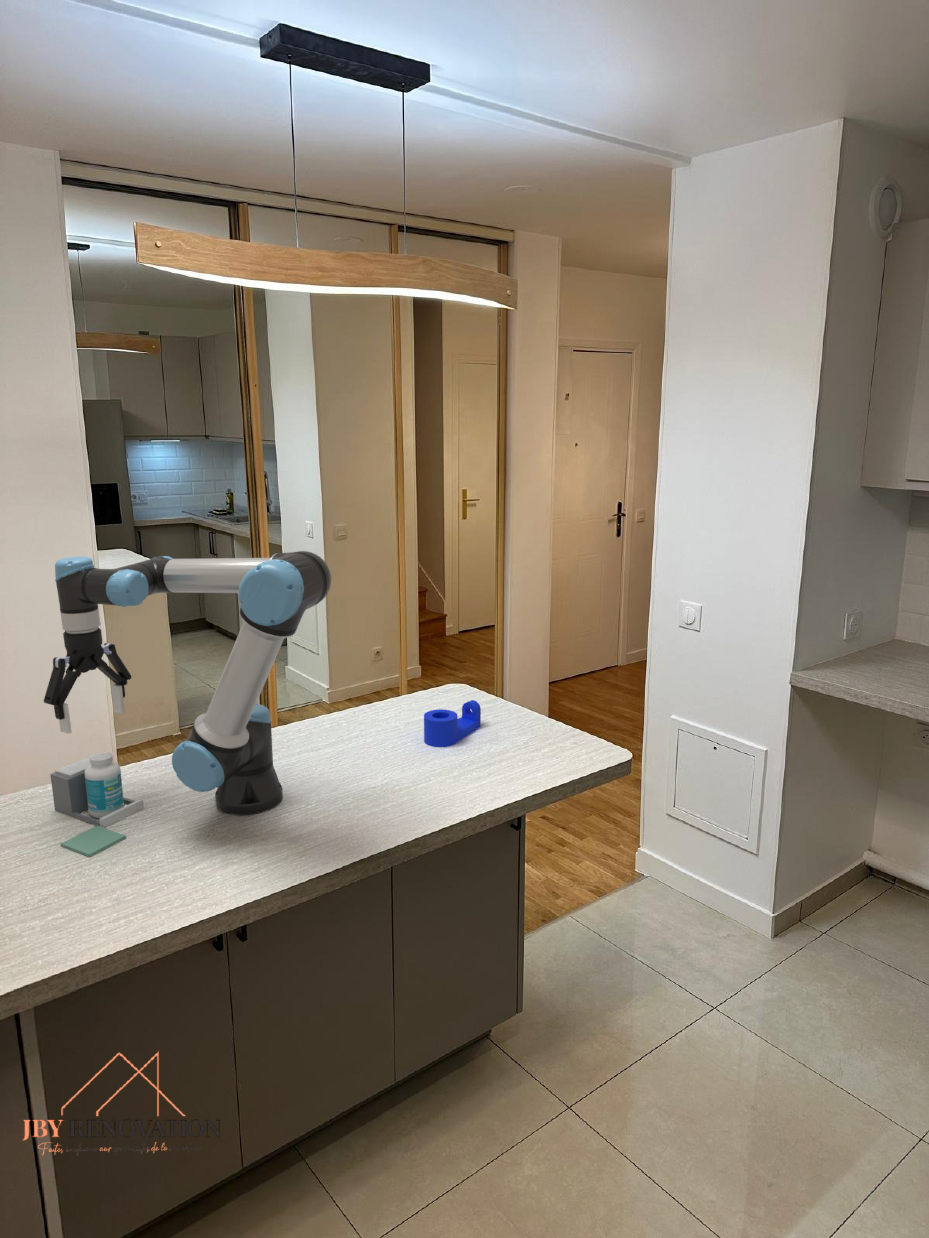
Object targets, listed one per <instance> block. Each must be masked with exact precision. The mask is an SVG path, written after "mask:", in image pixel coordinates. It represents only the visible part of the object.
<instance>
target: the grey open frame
mask: <svg viewBox="0 0 929 1238" xmlns="http://www.w3.org/2000/svg"><path fill="white" fill-rule="evenodd" d="M91 756H92V755H90V756H87V757H85V758H82V759H80V760H78V761H75V762H72V763H70V764H68V765H67V764H66V766H63V767H60V768H57V769H55V770H54V772H52V773H49V774H50V783H51V791H52V799H53V804H54V811H55V812H57V813H59V814H62V815H65V816H68V817H71V818H74V819H76V820H79V821H82V822H85V823H88V824H91V825H93V826H97V825H98V826H101V827H104V828H106V827H109V826H111V825H112V824H115V823H117V822H119V821H120V820H122V819H125V818H127V817H128V816H130V815H133V814H135V813H136V812H139V811H141V810H143V809H144V808H145V802H144V799H143V798H139V799H137V800H133V799H130V798H128V797H124V796H123V800H124V807H122V808H120V809H118V810H116V811H114V812H112V813H110V814H108V815H106V816H104V817H102V818H95V817H92V816H90V815H85V814H84V813H85V812H87V811H89V810H88V801H87V792H86V782H85V770H86V768H87V767H88V766H90V765H91V763H90V757H91Z"/></svg>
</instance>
